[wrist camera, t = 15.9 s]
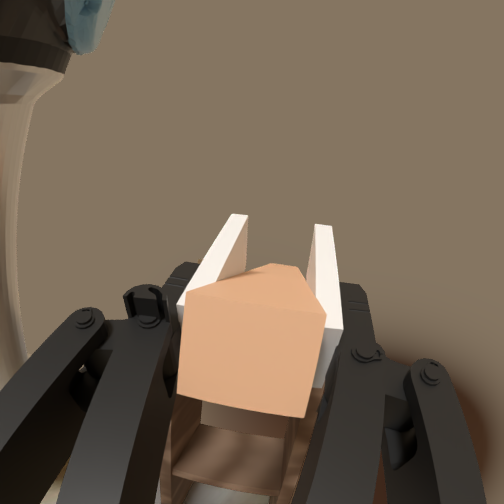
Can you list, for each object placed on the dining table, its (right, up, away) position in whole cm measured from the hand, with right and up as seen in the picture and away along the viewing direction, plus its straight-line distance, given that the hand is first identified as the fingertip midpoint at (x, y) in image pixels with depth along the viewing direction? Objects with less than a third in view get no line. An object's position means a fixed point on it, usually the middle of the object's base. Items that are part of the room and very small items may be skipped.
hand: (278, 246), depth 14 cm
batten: (0, -4, +6) cm, 7 cm away
